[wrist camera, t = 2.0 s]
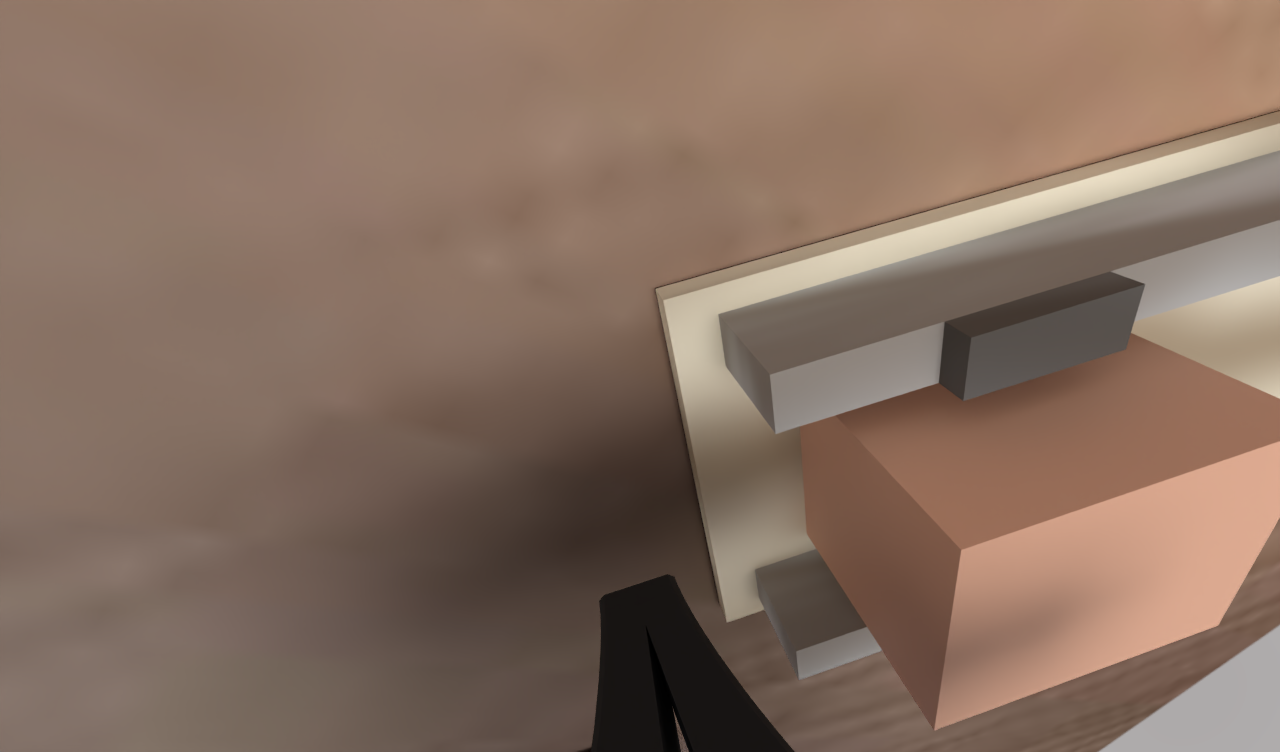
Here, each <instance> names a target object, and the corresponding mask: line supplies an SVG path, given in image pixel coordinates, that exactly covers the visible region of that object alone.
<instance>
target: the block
mask: <svg viewBox="0 0 1280 752" xmlns="http://www.w3.org/2000/svg"><path fill="white" fill-rule="evenodd" d="M800 437H801V453H802V468H803V483H804V499H805V514H806V530H807V535H808V537H809V538H810V540H811V541H812V543H813V544H814V546H815V547H816V549H817V550H818V552H819V553H820V555H821V557H822V558H823V560H824V561H825V563H826V564H827V566H828V567H829V569H830V570H831V572H832V574H833V575H834V577H835V578H836V580H837V581H838V583H839V584H840V586H841V587H842V589H843V591H844V592H845V594H846V595H847V597H848V598H849V600H850V601H851V603H852V604H853V606H854V607H855V609H856V611H857V612H858V614H859V615H860V617H861V618H862V620H863V621H864V623H865V624H866V626H867V628H868V629H869V631H870V632H871V634H872V635H873V637H874V638H875V640H876V641H877V643H878V645H879V646H880V648H881V649H882V651H883V652H884V654H885V655H886V657H887V658H888V660H889V661H890V663H891V665H892V666H893V668H894V669H895V671H896V672H897V674H898V675H899V677H900V678H901V680H902V682H903V683H904V685H905V686H906V688H907V689H908V691H909V692H910V694H911V695H912V697H913V699H914V700H915V702H916V703H917V705H918V706H919V708H920V709H921V711H922V712H923V714H924V715H925V717H926V719H927V720H928V722H929V723H930V725H931V726H932V728H933V729H934V730H937V729H939V728H942V727H945V726H947V725H950V724H953V723H956V722H958V721H961V720H964V719H966V718H969V717H972V716H975V715H977V714H980V713H983V712H985V711H988V710H991V709H993V708H996V707H999V706H1002V705H1004V704H1007V703H1010V702H1012V701H1015V700H1018V699H1021V698H1023V697H1026V696H1029V695H1031V694H1034V693H1037V692H1039V691H1042V690H1045V689H1048V688H1050V687H1053V686H1056V685H1058V684H1061V683H1064V682H1066V681H1069V680H1072V679H1075V678H1077V677H1080V676H1083V675H1085V674H1088V673H1091V672H1094V671H1096V670H1099V669H1102V668H1104V667H1107V666H1110V665H1112V664H1115V663H1118V662H1121V661H1123V660H1126V659H1129V658H1131V657H1134V656H1137V655H1140V654H1142V653H1145V652H1148V651H1150V650H1153V649H1156V648H1158V647H1161V646H1164V645H1167V644H1169V643H1172V642H1175V641H1177V640H1180V639H1183V638H1186V637H1188V636H1191V635H1194V634H1196V633H1199V632H1202V631H1204V630H1207V629H1210V628H1213V627H1215V626H1218V624H1219V623H1220V621H1221V619H1222V617H1223V616H1224V614H1225V612H1226V610H1227V609H1228V607H1229V605H1230V603H1231V602H1232V600H1233V598H1234V596H1235V595H1236V593H1237V591H1238V589H1239V588H1240V586H1241V584H1242V582H1243V581H1244V579H1245V577H1246V575H1247V574H1248V572H1249V570H1250V568H1251V567H1252V565H1253V563H1254V561H1255V560H1256V558H1257V556H1258V554H1259V553H1260V551H1261V549H1262V547H1263V546H1264V544H1265V542H1266V540H1267V539H1268V537H1269V535H1270V533H1271V532H1272V530H1273V528H1274V526H1275V525H1276V523H1277V521H1278V519H1279V518H1280V399H1279V398H1277V397H1275V396H1273V395H1270V394H1268V393H1266V392H1264V391H1261V390H1259V389H1257V388H1254V387H1252V386H1250V385H1248V384H1245V383H1243V382H1241V381H1239V380H1236V379H1234V378H1232V377H1230V376H1227V375H1225V374H1223V373H1221V372H1218V371H1216V370H1214V369H1212V368H1209V367H1207V366H1205V365H1203V364H1200V363H1198V362H1196V361H1194V360H1191V359H1189V358H1187V357H1184V356H1182V355H1180V354H1178V353H1175V352H1173V351H1171V350H1169V349H1166V348H1164V347H1162V346H1160V345H1157V344H1155V343H1153V342H1151V341H1148V340H1146V339H1144V338H1142V337H1139V336H1137V335H1135V334H1133V333H1131V334H1130V338H1129V341H1128V344H1127V348H1126V350H1123V351H1120V352H1117V353H1113V354H1110V355H1107V356H1104V357H1101V358H1098V359H1095V360H1091V361H1088V362H1085V363H1082V364H1079V365H1076V366H1072V367H1069V368H1066V369H1063V370H1060V371H1057V372H1054V373H1050V374H1047V375H1044V376H1041V377H1038V378H1035V379H1032V380H1028V381H1025V382H1022V383H1019V384H1016V385H1013V386H1010V387H1006V388H1003V389H1000V390H997V391H994V392H991V393H987V394H984V395H981V396H978V397H975V398H972V399H969V400H965V401H962V400H961V399H960V398H958V397H957V396H956V395H954V394H953V393H952V392H950V391H949V390H948V389H946V388H945V387H944V386H942V385H941V384H940V383H937V384H934V385H930V386H927V387H924V388H921V389H918V390H914V391H911V392H908V393H905V394H902V395H898V396H895V397H892V398H889V399H886V400H883V401H879V402H876V403H873V404H870V405H867V406H863V407H860V408H857V409H854V410H851V411H847V412H844V413H841V414H838V415H835V416H831V417H828V418H825V419H822V420H819V421H816V422H812V423H809V424H806V425H803V426H800Z"/></svg>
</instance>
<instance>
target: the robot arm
mask: <svg viewBox="0 0 1280 752" xmlns="http://www.w3.org/2000/svg"><path fill="white" fill-rule="evenodd" d="M599 602H600V614H601V653H600V671H599V685H598V695H597V705H596V716H595V726H594V734H593V741H592V748H591V752H681V749H680V744H679V738H678V733H677V728H676V723H675V717H674V712H675V715H676V717H677V720H678V723H679V726H680V728H681V731H682V734H683V737H684V739H685V742H686V745H687V748H688V750H689V752H794V750H793V749H792V748H791V747H790V746H789V745H788V743H787V742H786V741H785V740H784V739H783V737H782V736H781V735H780V734H779V733H778V731H777V730H776V729H775V728H774V727H773V725H772V724H771V723H770V722H769V720H768V719H767V718H766V717H765V715H764V714H763V713H762V712H761V710H760V709H759V708H758V707H757V705H756V704H755V703H754V702H753V700H752V699H751V698H750V696H749V695H748V694H747V692H746V691H745V690H744V689H743V687H742V686H741V685H740V683H739V682H738V680H737V679H736V678H735V676H734V675H733V674H732V672H731V671H730V669H729V668H728V667H727V665H726V664H725V662H724V661H723V660H722V658H721V657H720V656H719V654H718V653H717V651H716V650H715V648H714V647H713V645H712V644H711V642H710V641H709V639H708V638H707V636H706V635H705V633H704V631H703V630H702V628H701V627H700V625H699V623H698V622H697V620H696V619H695V617H694V615H693V613H692V612H691V610H690V608H689V606H688V605H687V603H686V601H685V599H684V597H683V595H682V593H681V591H680V589H679V587H678V585H677V582H676V580H675V577H674V576H671V575H668V574H667V575H664V576H661V577H658V578H655V579H652V580H649V581H646V582H643V583H640V584H637V585H634V586H631V587H628V588H624V589H621V590H618V591H615V592H612V593H609V594H606V595H604V596H603V597H602V598H601V600H600V601H599ZM672 706H673V707H672ZM673 709H674V712H673Z"/></svg>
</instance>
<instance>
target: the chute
mask: <svg viewBox="0 0 1280 752" xmlns="http://www.w3.org/2000/svg"><path fill="white" fill-rule="evenodd" d="M655 290H656V295H657V299H658V304H659V309H660V314H661V319H662V324H663V329H664V334H665V339H666V343H667V348H668V353H669V358H670V363H671V368H672V373H673V378H674V383H675V388H676V392H677V397H678V402H679V407H680V412H681V417H682V422H683V427H684V432H685V436H686V441H687V446H688V451H689V456H690V461H691V466H692V471H693V476H694V480H695V485H696V490H697V495H698V500H699V505H700V510H701V515H702V520H703V524H704V529H705V534H706V539H707V544H708V549H709V554H710V559H711V564H712V569H713V573H714V578H715V583H716V588H717V593H718V598H719V603H720V606H721V609H722V611H723V613H724V616H725V618H726V621H727V622H730V621H733V620H736V619H739V618H742V617H745V616H748V615H751V614H754V613H756V612H759V611H762V610H765V611H766V613H767V615H768V617H769V619H770V622H771V624H772V626H773V628H774V630H775V632H776V634H777V636H778V638H779V640H780V642H781V644H782V646H783V648H784V650H785V652H786V655H787V657H788V659H789V661H790V663H791V665H792V667H793V669H794V671H795V673H796V675H797V677H798V679H799V680H801V679H804V678H806V677H809V676H812V675H815V674H818V673H821V672H823V671H826V670H829V669H832V668H835V667H838V666H840V665H843V664H846V663H849V662H852V661H855V660H857V659H860V658H863V657H866V656H869V655H871V654H874V653H877V652H880V651H882V649H881V648H880V646H879V645H878V643H877V641H876V640H875V638H874V637H873V635H872V634H871V632H870V631H869V629H868V628H867V626H866V624H865V623H864V621H863V620H862V618H861V617H860V615H859V614H858V612H857V611H856V609H855V607H854V606H853V604H852V603H851V601H850V600H849V598H848V597H847V595H846V594H845V592H844V591H843V589H842V587H841V586H840V584H839V583H838V581H837V580H836V578H835V577H834V575H833V574H832V572H831V570H830V569H829V567H828V566H827V564H826V563H825V561H824V560H823V558H822V557H821V555H820V553H819V552H818V550H817V549H816V547H815V546H814V544H813V543H812V541H811V540H810V538H809V537H808V535H807V530H806V514H805V499H804V483H803V468H802V453H801V437H800V426H803V425H806V424H809V423H812V422H816V421H819V420H822V419H825V418H828V417H831V416H835V415H838V414H841V413H844V412H847V411H851V410H854V409H857V408H860V407H863V406H867V405H870V404H873V403H876V402H879V401H883V400H886V399H889V398H892V397H895V396H898V395H902V394H905V393H908V392H911V391H914V390H918V389H921V388H924V387H927V386H930V385H934V384H937V383H940V384H941V385H942V386H944V387H945V388H946V389H948V390H949V391H950V392H952V393H953V394H954V395H956V396H957V397H958V398H960V399H961V400H962V401H965V400H969V399H972V398H975V397H978V396H981V395H984V394H987V393H991V392H994V391H997V390H1000V389H1003V388H1006V387H1010V386H1013V385H1016V384H1019V383H1022V382H1025V381H1028V380H1032V379H1035V378H1038V377H1041V376H1044V375H1047V374H1050V373H1054V372H1057V371H1060V370H1063V369H1066V368H1069V367H1072V366H1076V365H1079V364H1082V363H1085V362H1088V361H1091V360H1095V359H1098V358H1101V357H1104V356H1107V355H1110V354H1113V353H1117V352H1120V351H1123V350H1126V348H1127V344H1128V341H1129V338H1130V334H1131V333H1133V334H1135V335H1137V336H1139V337H1142V338H1144V339H1146V340H1148V341H1151V342H1153V343H1155V344H1157V345H1160V346H1162V347H1164V348H1166V349H1169V350H1171V351H1173V352H1175V353H1178V354H1180V355H1182V356H1184V357H1187V358H1189V359H1191V360H1194V361H1196V362H1198V363H1200V364H1203V365H1205V366H1207V367H1209V368H1212V369H1214V370H1216V371H1218V372H1221V373H1223V374H1225V375H1227V376H1230V377H1232V378H1234V379H1236V380H1239V381H1241V382H1243V383H1245V384H1248V385H1250V386H1252V387H1254V388H1257V389H1259V390H1261V391H1264V392H1266V393H1268V394H1270V395H1273V396H1275V397H1277V398H1279V399H1280V111H1277V112H1274V113H1270V114H1267V115H1263V116H1260V117H1256V118H1253V119H1249V120H1246V121H1242V122H1239V123H1235V124H1232V125H1228V126H1225V127H1221V128H1218V129H1214V130H1211V131H1207V132H1204V133H1200V134H1197V135H1193V136H1190V137H1186V138H1183V139H1179V140H1176V141H1172V142H1169V143H1165V144H1162V145H1158V146H1155V147H1151V148H1148V149H1144V150H1141V151H1137V152H1134V153H1130V154H1127V155H1123V156H1120V157H1116V158H1113V159H1109V160H1106V161H1102V162H1099V163H1095V164H1092V165H1088V166H1085V167H1081V168H1077V169H1074V170H1070V171H1067V172H1063V173H1060V174H1056V175H1053V176H1049V177H1046V178H1042V179H1039V180H1035V181H1032V182H1028V183H1025V184H1021V185H1018V186H1014V187H1011V188H1007V189H1004V190H1000V191H997V192H993V193H990V194H986V195H983V196H979V197H976V198H972V199H969V200H965V201H962V202H958V203H955V204H951V205H948V206H944V207H941V208H937V209H934V210H930V211H927V212H923V213H920V214H916V215H913V216H909V217H906V218H902V219H899V220H895V221H892V222H888V223H885V224H881V225H877V226H874V227H870V228H867V229H863V230H860V231H856V232H853V233H849V234H846V235H842V236H839V237H835V238H832V239H828V240H825V241H821V242H818V243H814V244H811V245H807V246H804V247H800V248H797V249H793V250H790V251H786V252H783V253H779V254H776V255H772V256H769V257H765V258H762V259H758V260H755V261H751V262H748V263H744V264H741V265H737V266H734V267H730V268H727V269H723V270H720V271H716V272H713V273H709V274H706V275H702V276H699V277H695V278H692V279H688V280H685V281H681V282H678V283H674V284H670V285H667V286H663V287H660V288H656V289H655Z"/></svg>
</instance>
